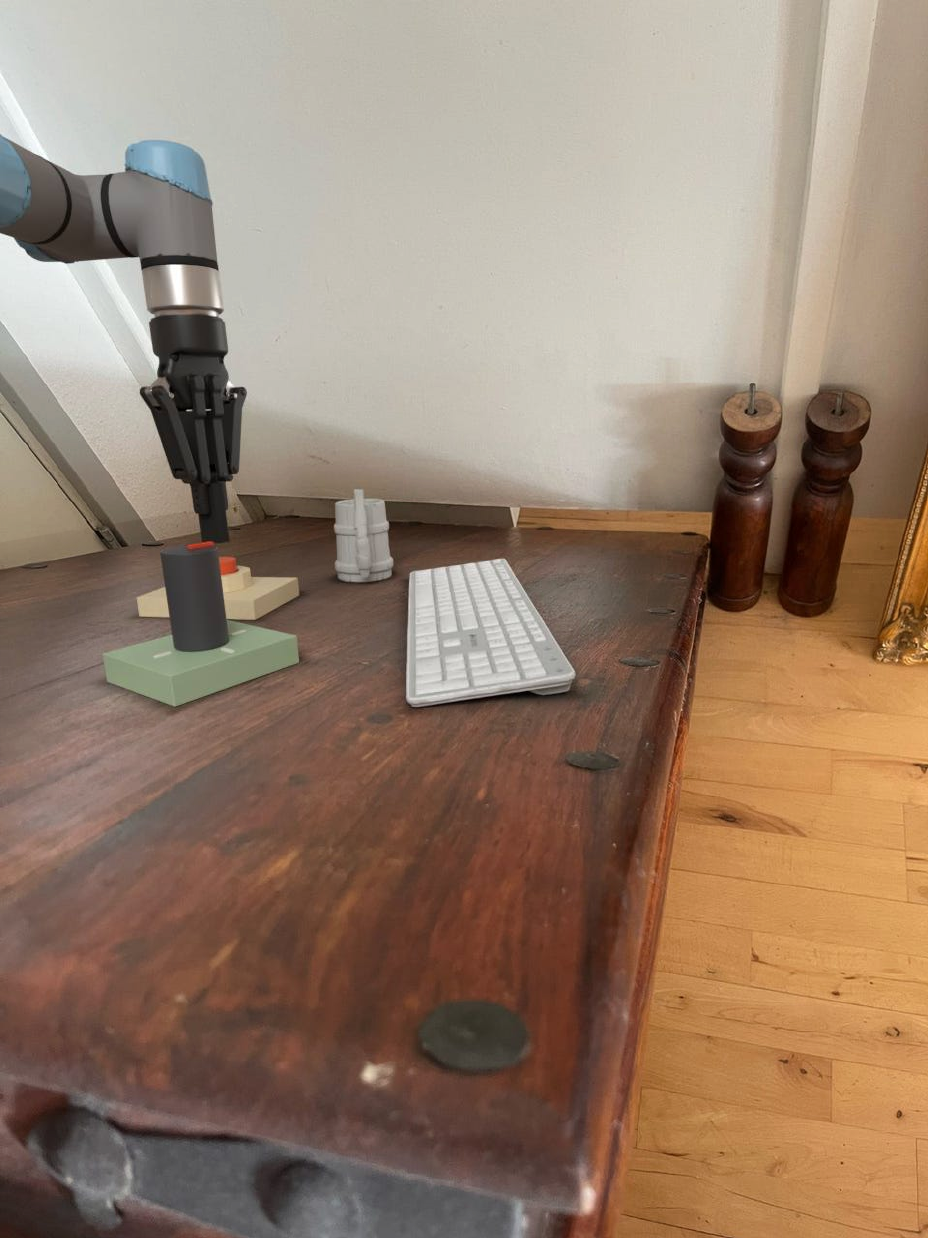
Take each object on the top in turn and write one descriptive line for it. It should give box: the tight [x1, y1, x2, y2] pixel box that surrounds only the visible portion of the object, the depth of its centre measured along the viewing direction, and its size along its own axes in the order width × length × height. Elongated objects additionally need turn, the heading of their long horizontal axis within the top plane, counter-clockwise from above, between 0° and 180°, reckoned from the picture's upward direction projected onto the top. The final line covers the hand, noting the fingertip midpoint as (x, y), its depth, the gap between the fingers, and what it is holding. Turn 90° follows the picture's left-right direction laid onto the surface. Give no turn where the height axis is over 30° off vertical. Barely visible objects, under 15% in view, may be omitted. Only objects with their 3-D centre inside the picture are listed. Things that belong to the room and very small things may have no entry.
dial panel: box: [102, 619, 300, 708], centre depth 63 cm, size 10×12×3 cm
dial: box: [159, 541, 229, 651], centre depth 61 cm, size 4×4×8 cm
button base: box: [136, 565, 300, 621], centre depth 85 cm, size 14×11×4 cm
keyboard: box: [405, 558, 577, 708], centre depth 74 cm, size 44×12×2 cm, turn 4°
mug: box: [333, 488, 394, 583], centre depth 95 cm, size 8×12×12 cm, turn 8°
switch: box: [219, 556, 237, 575], centre depth 84 cm, size 4×4×2 cm
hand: (215, 541), depth 84 cm, fingers closed
